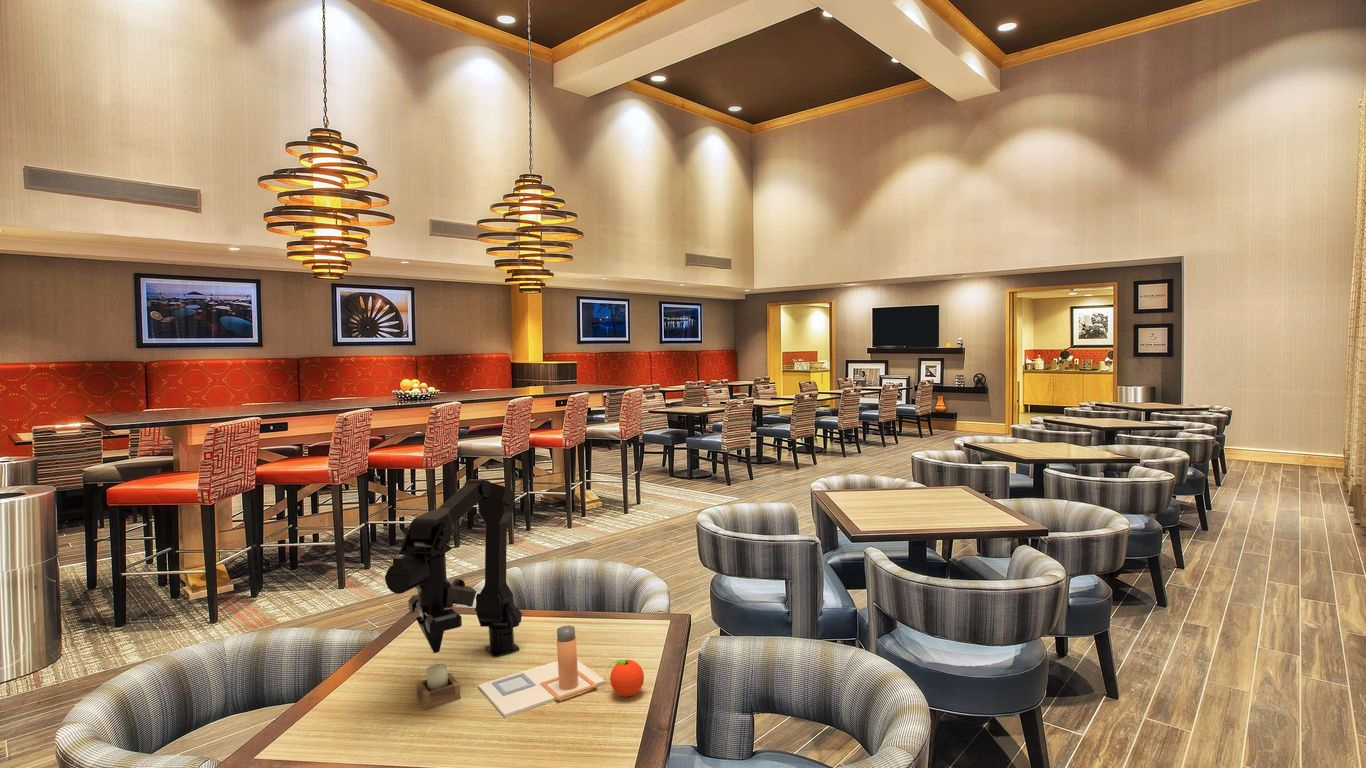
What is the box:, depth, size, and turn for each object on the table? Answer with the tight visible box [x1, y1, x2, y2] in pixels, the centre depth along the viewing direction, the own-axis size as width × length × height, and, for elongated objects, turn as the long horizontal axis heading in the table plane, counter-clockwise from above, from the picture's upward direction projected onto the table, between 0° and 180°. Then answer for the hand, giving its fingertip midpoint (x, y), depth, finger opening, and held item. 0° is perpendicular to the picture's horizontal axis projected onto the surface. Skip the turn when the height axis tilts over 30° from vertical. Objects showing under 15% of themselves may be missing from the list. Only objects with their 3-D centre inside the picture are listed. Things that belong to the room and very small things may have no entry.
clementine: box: [607, 659, 645, 698], centre depth 139 cm, size 8×7×7 cm
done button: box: [426, 663, 448, 691], centre depth 142 cm, size 4×4×4 cm
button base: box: [415, 672, 461, 710], centre depth 142 cm, size 7×7×3 cm
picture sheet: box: [477, 659, 606, 718], centre depth 144 cm, size 18×22×1 cm
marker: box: [556, 625, 578, 690], centre depth 143 cm, size 4×4×12 cm
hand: (436, 652), depth 142 cm, fingers closed
